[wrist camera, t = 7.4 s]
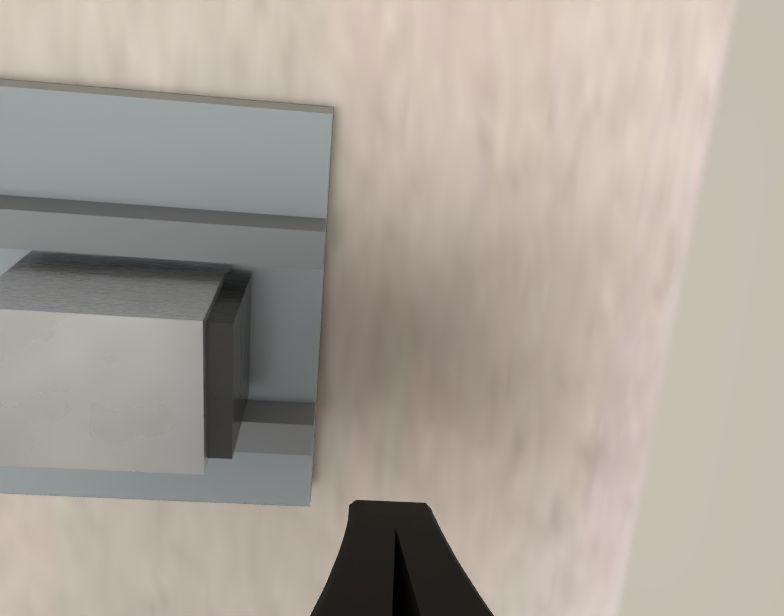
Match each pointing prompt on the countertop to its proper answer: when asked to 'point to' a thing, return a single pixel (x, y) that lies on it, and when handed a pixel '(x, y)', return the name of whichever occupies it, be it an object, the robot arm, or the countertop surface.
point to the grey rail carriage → (122, 362)
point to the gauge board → (184, 249)
